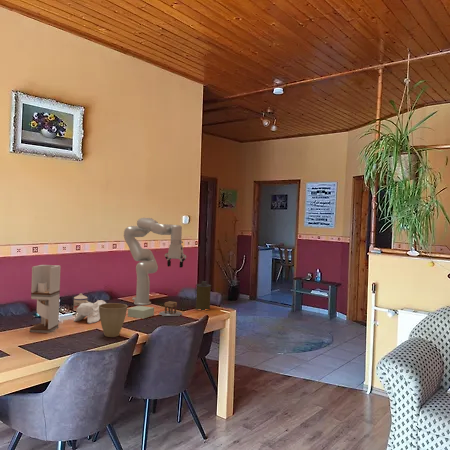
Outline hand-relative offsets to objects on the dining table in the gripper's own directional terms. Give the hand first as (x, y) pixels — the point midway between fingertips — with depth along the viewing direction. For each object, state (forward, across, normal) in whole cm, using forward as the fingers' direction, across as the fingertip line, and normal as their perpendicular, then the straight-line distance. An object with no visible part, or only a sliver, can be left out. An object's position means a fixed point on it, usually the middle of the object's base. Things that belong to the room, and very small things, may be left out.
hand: (175, 266), depth 299 cm
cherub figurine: (+31, +26, +54) cm, 67 cm away
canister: (+31, -16, -14) cm, 37 cm away
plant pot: (+31, -6, +75) cm, 81 cm away
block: (+30, +8, +28) cm, 42 cm away
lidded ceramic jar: (+31, +48, +38) cm, 68 cm away
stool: (+29, -6, +14) cm, 33 cm away
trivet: (+30, -6, +14) cm, 34 cm away
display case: (+31, +32, +85) cm, 96 cm away
